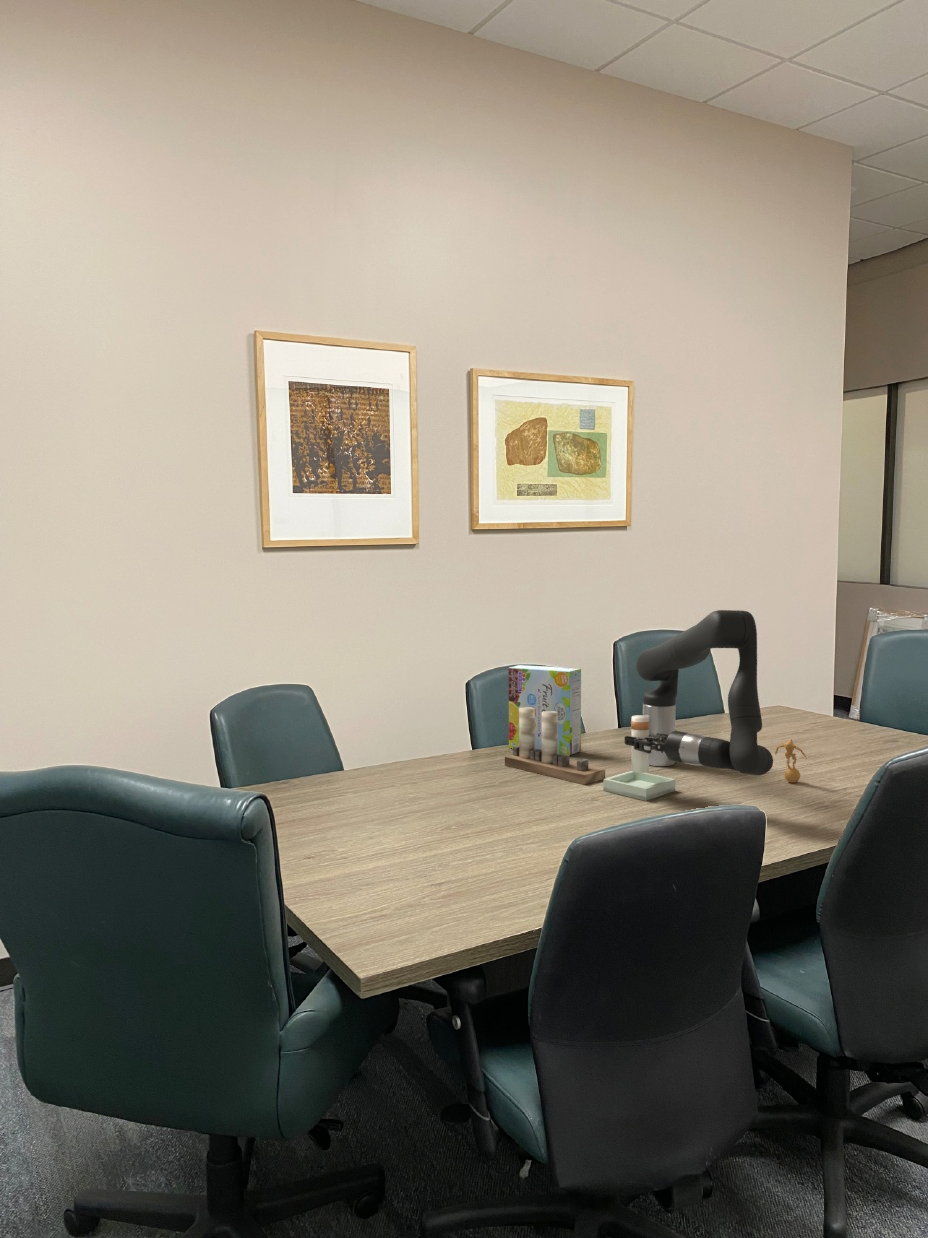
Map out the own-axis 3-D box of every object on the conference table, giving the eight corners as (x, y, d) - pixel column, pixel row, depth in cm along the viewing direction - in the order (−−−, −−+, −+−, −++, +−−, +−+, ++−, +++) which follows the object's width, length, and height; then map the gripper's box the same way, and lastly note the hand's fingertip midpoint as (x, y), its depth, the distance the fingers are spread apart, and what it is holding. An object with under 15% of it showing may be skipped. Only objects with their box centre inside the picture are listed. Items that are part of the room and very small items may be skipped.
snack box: (582, 751, 268) (583, 668, 266) (570, 757, 261) (570, 671, 259) (520, 743, 280) (520, 663, 278) (507, 748, 273) (506, 666, 271)
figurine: (810, 783, 231) (811, 738, 230) (802, 788, 226) (803, 742, 225) (779, 778, 236) (780, 734, 235) (770, 783, 231) (771, 738, 230)
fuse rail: (525, 760, 258) (525, 704, 257) (605, 778, 237) (605, 718, 236) (504, 765, 252) (504, 708, 250) (584, 784, 231) (584, 722, 229)
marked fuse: (637, 767, 228) (638, 714, 227) (652, 770, 224) (653, 716, 223) (627, 771, 224) (627, 716, 223) (642, 774, 221) (642, 719, 220)
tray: (633, 781, 234) (633, 770, 234) (675, 790, 225) (675, 779, 224) (603, 790, 225) (603, 779, 225) (645, 801, 216) (646, 789, 215)
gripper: (704, 729, 218) (647, 720, 230) (672, 737, 208) (614, 728, 221) (704, 758, 219) (647, 748, 231) (672, 768, 209) (614, 757, 221)
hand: (631, 738), depth 226 cm, fingers closed on marked fuse, 4 cm apart
